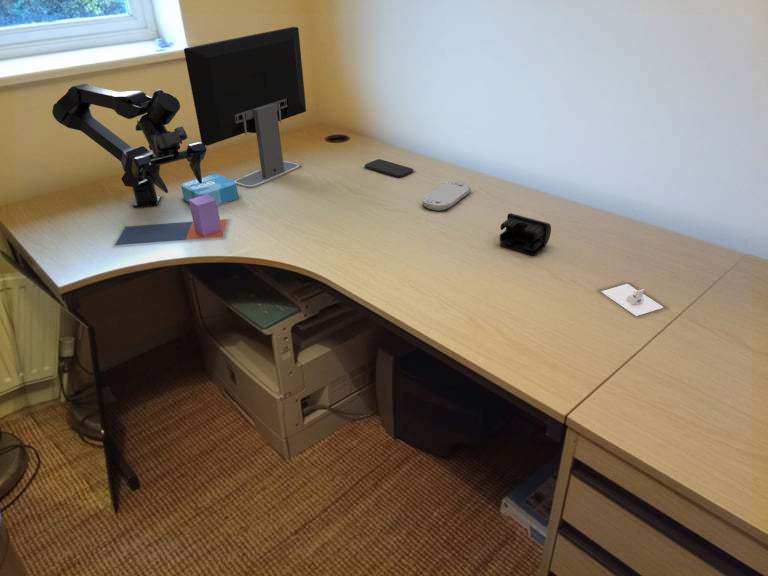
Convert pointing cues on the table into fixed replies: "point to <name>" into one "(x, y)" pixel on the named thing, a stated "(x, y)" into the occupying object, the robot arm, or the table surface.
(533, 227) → the end cap
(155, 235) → the mat
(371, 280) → the table surface
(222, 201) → the data package
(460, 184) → the game console
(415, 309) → the table surface
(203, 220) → the block
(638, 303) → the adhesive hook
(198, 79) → the computer monitor
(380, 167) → the phone
